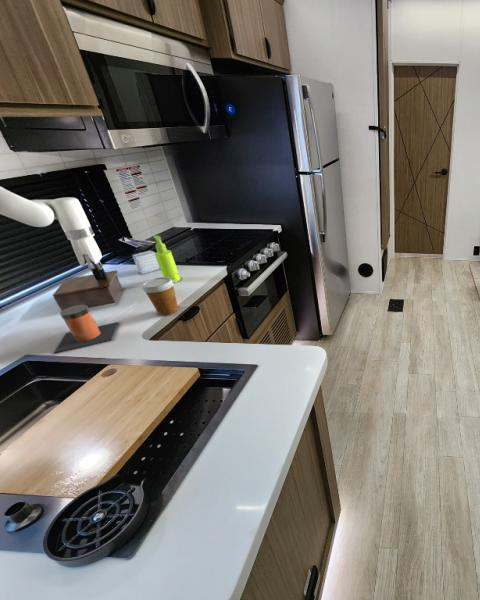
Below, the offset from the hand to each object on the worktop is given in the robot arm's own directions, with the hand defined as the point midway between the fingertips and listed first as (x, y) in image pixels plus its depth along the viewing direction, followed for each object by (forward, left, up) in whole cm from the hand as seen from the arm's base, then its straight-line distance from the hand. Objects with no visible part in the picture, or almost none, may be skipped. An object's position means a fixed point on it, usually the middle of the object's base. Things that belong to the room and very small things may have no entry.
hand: (101, 278), depth 129 cm
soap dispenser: (+21, +8, -9) cm, 24 cm away
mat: (-1, -31, -8) cm, 32 cm away
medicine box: (+11, +26, -9) cm, 30 cm away
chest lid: (-5, 0, -1) cm, 5 cm away
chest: (-5, 0, -8) cm, 10 cm away
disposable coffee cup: (+21, -24, -9) cm, 33 cm away
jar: (-1, -31, -8) cm, 32 cm away
